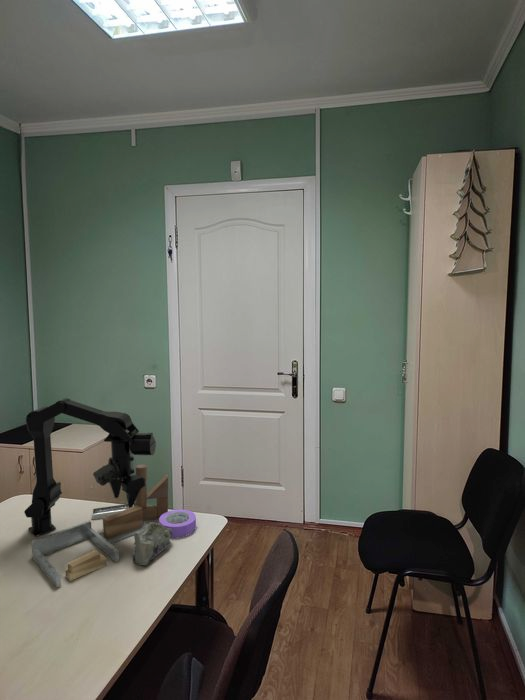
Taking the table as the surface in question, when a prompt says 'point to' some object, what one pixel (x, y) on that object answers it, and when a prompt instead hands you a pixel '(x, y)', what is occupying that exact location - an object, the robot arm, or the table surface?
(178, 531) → the masking tape
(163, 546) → the mineral rock
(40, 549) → the frame
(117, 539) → the rubber mat
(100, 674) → the table surface
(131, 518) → the walnut panel
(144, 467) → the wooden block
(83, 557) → the offcut stack
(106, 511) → the multiport hub
